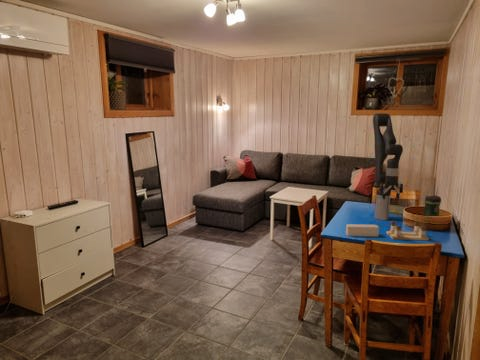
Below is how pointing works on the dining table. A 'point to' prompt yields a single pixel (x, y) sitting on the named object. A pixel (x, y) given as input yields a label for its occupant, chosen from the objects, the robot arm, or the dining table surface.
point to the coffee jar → (432, 206)
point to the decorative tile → (396, 210)
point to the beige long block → (362, 230)
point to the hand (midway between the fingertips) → (390, 199)
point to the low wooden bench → (407, 233)
